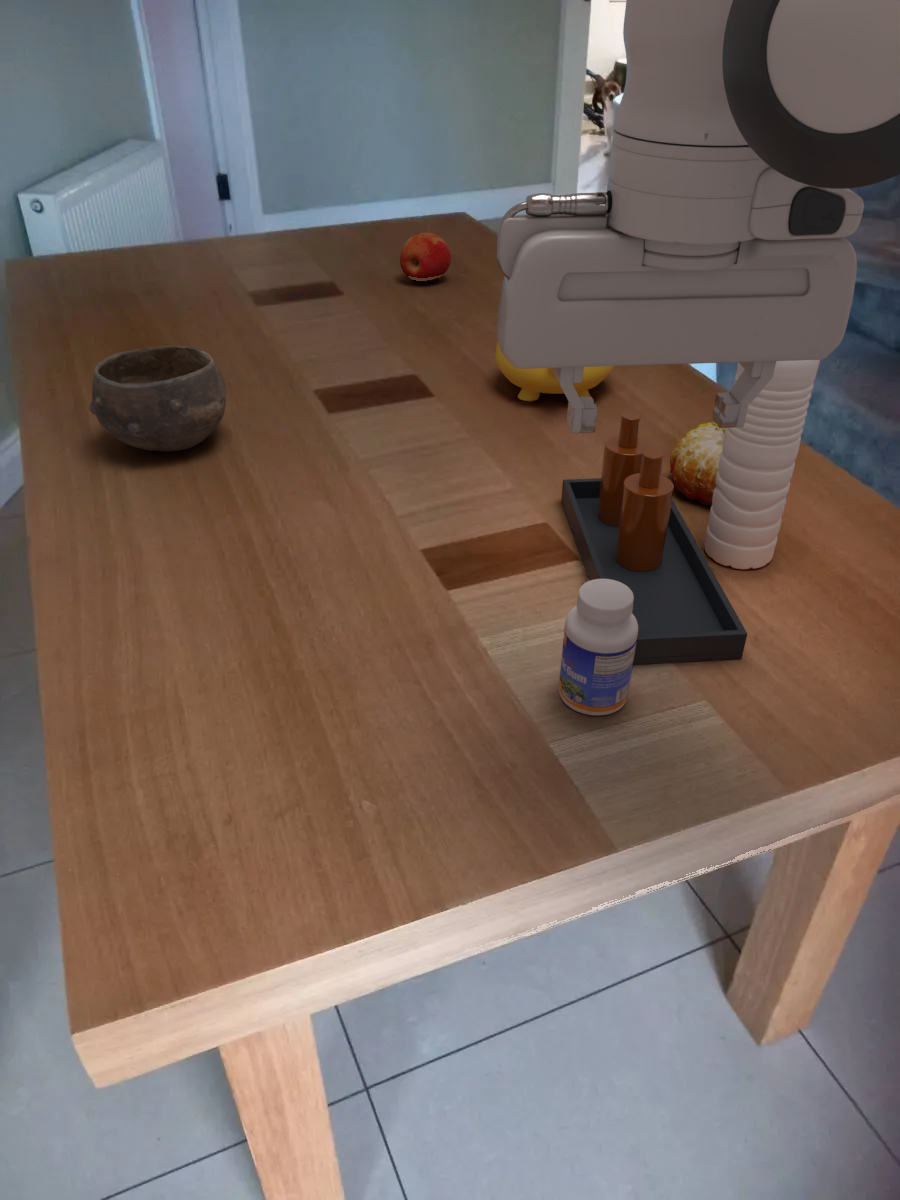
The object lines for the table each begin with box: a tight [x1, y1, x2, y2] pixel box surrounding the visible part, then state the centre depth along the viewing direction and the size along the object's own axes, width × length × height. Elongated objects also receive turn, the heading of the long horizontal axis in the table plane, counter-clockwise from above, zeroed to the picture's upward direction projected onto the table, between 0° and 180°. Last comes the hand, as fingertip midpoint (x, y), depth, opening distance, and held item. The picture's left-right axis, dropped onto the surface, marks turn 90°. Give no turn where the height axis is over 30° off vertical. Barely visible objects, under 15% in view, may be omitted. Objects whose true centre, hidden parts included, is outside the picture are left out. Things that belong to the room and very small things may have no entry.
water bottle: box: [703, 360, 821, 570], centre depth 82 cm, size 9×6×25 cm
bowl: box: [88, 345, 227, 452], centre depth 105 cm, size 14×15×10 cm
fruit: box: [669, 421, 726, 507], centre depth 97 cm, size 11×10×8 cm
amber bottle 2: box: [615, 448, 675, 572], centre depth 83 cm, size 4×4×11 cm
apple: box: [399, 232, 452, 284], centre depth 158 cm, size 8×8×8 cm
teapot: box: [494, 341, 615, 402], centre depth 116 cm, size 20×16×14 cm
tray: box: [560, 477, 748, 665], centre depth 85 cm, size 27×10×3 cm, turn 4°
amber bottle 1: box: [597, 411, 652, 527], centre depth 90 cm, size 4×4×11 cm
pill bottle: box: [558, 579, 638, 716], centre depth 69 cm, size 5×5×10 cm
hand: (654, 426), depth 58 cm, fingers open, 8 cm apart
